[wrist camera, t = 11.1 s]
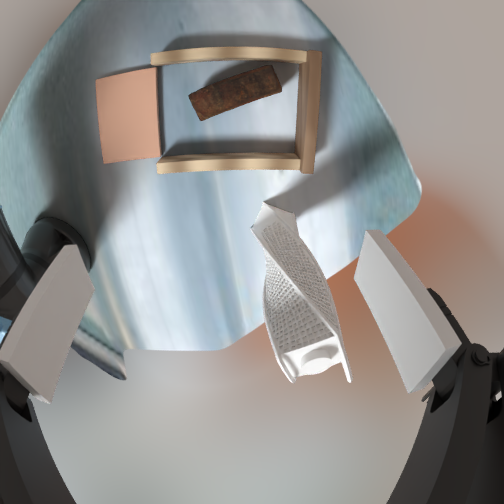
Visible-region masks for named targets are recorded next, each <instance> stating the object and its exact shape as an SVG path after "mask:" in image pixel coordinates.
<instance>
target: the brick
mask: <svg viewBox="0 0 504 504" xmlns="http://www.w3.org/2000/svg"><path fill="white" fill-rule="evenodd" d="M280 92H282V87H281V85H280V83H279V80H278V78H277V76H276V73H275V71H274V69H273V66H272V65H266V66H263V67H260V68H256V69H254V70H250V71H247V72H244V73H241V74H238V75H235V76H232V77H230V78H227V79H224V80H222V81H219V82H216V83H214V84H211V85H209V86H207V87H204V88H201V89H199V90H197V91H196V92H193V93H191V94H190V95H188V96H189V99H190V101H191V103H192V106H193V108H194V109H195V111H196V113H197V116H198V117H199V119H200V121H203V120H206V119H208V118H210V117H213V116H215V115H218V114H220V113H223V112H225V111H228V110H231V109H234V108H236V107H239V106H242V105H244V104H247V103H250V102H252V101H255V100H258V99H261V98H264V97H268V96H271V95H273V94H277V93H280Z"/></svg>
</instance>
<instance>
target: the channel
mask: <svg viewBox="0 0 504 504" xmlns="http://www.w3.org/2000/svg"><path fill="white" fill-rule="evenodd" d="M227 60H249V61H273V62H287V63H297V64H299V81H298V102H297V120H296V136H295V151H294V153H210V154H192V155H177V156H165V157H161V159H160V160H159V161H158V162H157V163H156V164H157V173H158V174H164V173H177V172H192V171H213V170H256V169H270V170H300V171H301V172H302V173H303V174H313V171H314V162H315V151H316V141H317V129H318V116H319V102H320V85H321V64H322V52H321V51H315V50H308V51H301V50H292V49H281V48H267V47H207V48H192V49H182V50H173V51H165V52H158V53H152V54H151V65H155V66H162V65H170V64H179V63H189V62H202V61H227Z"/></svg>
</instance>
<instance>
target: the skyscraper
mask: <svg viewBox="0 0 504 504" xmlns="http://www.w3.org/2000/svg"><path fill="white" fill-rule="evenodd" d="M262 204H263V205H262V207H261V210H260V212H259V214H258V216H257V218H256V220H255V222H254V224H253V226H252V228H250V230H251V232H252V233H253V235H254V237H255V238H256V239H257V241H258V242H259V244H260V245H261V247H262V248H263V250H264V254H265V259H266V269H267V273H266V278H265V282H264V289H263V313H264V319H265V323H266V327H267V331H268V334H269V337H270V341H271V344H272V347H273V350H274V352H275V356H276V359H277V361H278V364H279V365H280V367H281V369H282V370H283V372H284V373H285V375H286V376H287V378H288V379H289V380H290V382H292V383H295V382H296V377H299V376H302V375H305V374H309V375H312V374H318V373H321V372H323V371H325V370H326V369H328V368H329V367H330V366H332V365H334V364H337V363H340V362H342V364H343V368H344V371H345V374H346V377H347V380H348V382H350V383H351V382H352V380H353V377H352V373H351V368H350V364H349V361H348V357H347V354H346V350H345V348H344V344H343V338H342V333H341V329H340V325H339V320H338V315H337V311H336V307H335V304H334V301H333V298H332V294H331V291H330V289H329V286H328V284H327V281H326V279H325V276H324V274H323V272H322V270H321V268H320V266H319V265H318V263H317V261H316V259H315V258H314V256H313V255H312V253H311V252H310V250H309V249H308V247H307V246H306V245H305V243H304V242H303V241H302V239H301V238H300V237H299V233H298V228H297V223H296V218H295V214H294V213H293V212H292V213H290V212H287V211H284V210H282V209H279V208H276V207H274V206H271V205H268V204H266V203H265V202H263V203H262Z"/></svg>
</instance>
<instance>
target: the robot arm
mask: <svg viewBox="0 0 504 504" xmlns="http://www.w3.org/2000/svg"><path fill="white" fill-rule="evenodd" d="M89 270H90V255H89V251H88V249H87V246H86V244H85V243H84V241H83V239H82V238H81V237H80V235H79V234H78V233H77V232H76V231H75V230H74V229H73V228H72V227H71V226H69V225H68V224H67V223H65V222H63V221H61V220H58V219H55V218H43V219H40V220H38V221H37V222H36V223H35V224H34V225H33V226H32V227H31V228H30V229H29V231H28V232H27V234H26V237H25V240H24V242H23V245H22V247H21V250H20V249H19V247H18V245H17V243H16V241H15V239H14V237H13V235H12V232H11V230H10V228H9V226H8V224H7V221H6V219H5V216H4V214H3V211H2V206H1V205H0V504H76V502H75V501H74V499H73V497H72V495H71V494H70V492H69V490H68V488H67V487H66V485H65V483H64V481H63V479H62V477H61V475H60V473H59V471H58V469H57V467H56V465H55V462H54V460H53V458H52V456H51V454H50V451H49V449H48V446H47V444H46V441H45V439H44V436H43V434H42V431H41V428H40V425H39V423H38V419H37V416H36V413H35V410H34V407H33V404H32V401H31V400H30V399H29V398H28V396H29V393H31V394H32V395H33V396H34V397H35V398H36V399H38V400H40V401H43V402H46V403H50V404H51V402H52V398H53V395H54V392H55V389H56V386H57V382H58V379H59V376H60V373H61V370H62V368H63V365H64V362H65V359H66V356H67V354H68V351H69V348H70V346H71V343H72V341H73V338H74V336H75V333H76V331H77V329H78V326H79V324H80V321H81V319H82V317H83V315H84V312H85V310H86V308H87V306H88V303H89V301H90V299H91V297H92V295H93V293H94V291H95V288H94V286H93V284H92V282H91V279H90V277H89V275H88V273H89ZM354 279H355V281H356V283H357V285H358V287H359V289H360V291H361V293H362V294H363V296H364V298H365V300H366V302H367V304H368V306H369V308H370V310H371V312H372V314H373V316H374V318H375V320H376V322H377V324H378V326H379V329H380V331H381V333H382V335H383V337H384V339H385V341H386V343H387V346H388V348H389V350H390V352H391V354H392V356H393V359H394V361H395V363H396V366H397V368H398V370H399V373H400V375H401V377H402V380H403V382H404V384H405V387H406V389H407V392H408V394H409V393H412V392H415V391H418V390H421V389H424V388H425V387H426V386H427V385H428V384H429V382H430V381H431V380H432V381H433V384H434V387H432V389H431V390H430V391H429V392H428V393H427V394H426V395H425V396H424V397H423V399H422V401H423V402H424V401H425V400H426V399H427V398H428V397H429V400H428V402H427V407H426V410H425V413H424V417H423V420H422V423H421V426H420V429H419V432H418V435H417V437H416V440H415V443H414V445H413V448H412V451H411V453H410V456H409V458H408V460H407V463H406V465H405V467H404V470H403V472H402V474H401V476H400V478H399V480H398V482H397V484H396V487H395V488H394V490H393V492H392V494H391V496H390V498H389V500H388V502H387V504H504V349H503V350H502V351H501V352H500V353H489V352H488V351H487V349H486V348H485V347H483V346H482V345H480V344H476V343H474V344H471V343H470V341H469V339H468V338H467V336H466V335H465V333H464V331H463V330H462V328H461V327H460V325H459V323H458V322H457V320H456V319H455V317H454V316H453V315H451V314H452V313H451V311H450V310H449V308H448V307H446V306H447V305H446V304H445V302H444V301H443V300H442V298H441V297H440V296H439V295H438V294H437V293H436V292H435V291H433V290H432V289H431V288H428V289H426V288H425V286H424V285H423V284H422V282H421V281H420V279H419V278H418V277H417V275H416V274H415V273H414V271H413V270H412V269H411V267H410V266H409V265H408V263H407V262H406V261H405V260H404V259H403V257H402V256H401V255H400V253H399V252H398V251H397V249H396V248H395V247H394V246H393V245H392V243H391V242H390V241H389V240H388V239H387V237H386V236H385V235H384V234H383V233H382V231H381V230H366V232H365V236H364V241H363V245H362V249H361V253H360V257H359V261H358V265H357V268H356V272H355V276H354ZM500 391H501V393H502V397H501V398H500V399H499V400H498V401H497V400H496V397H495V395H496V394H498V393H499V392H500Z"/></svg>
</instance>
